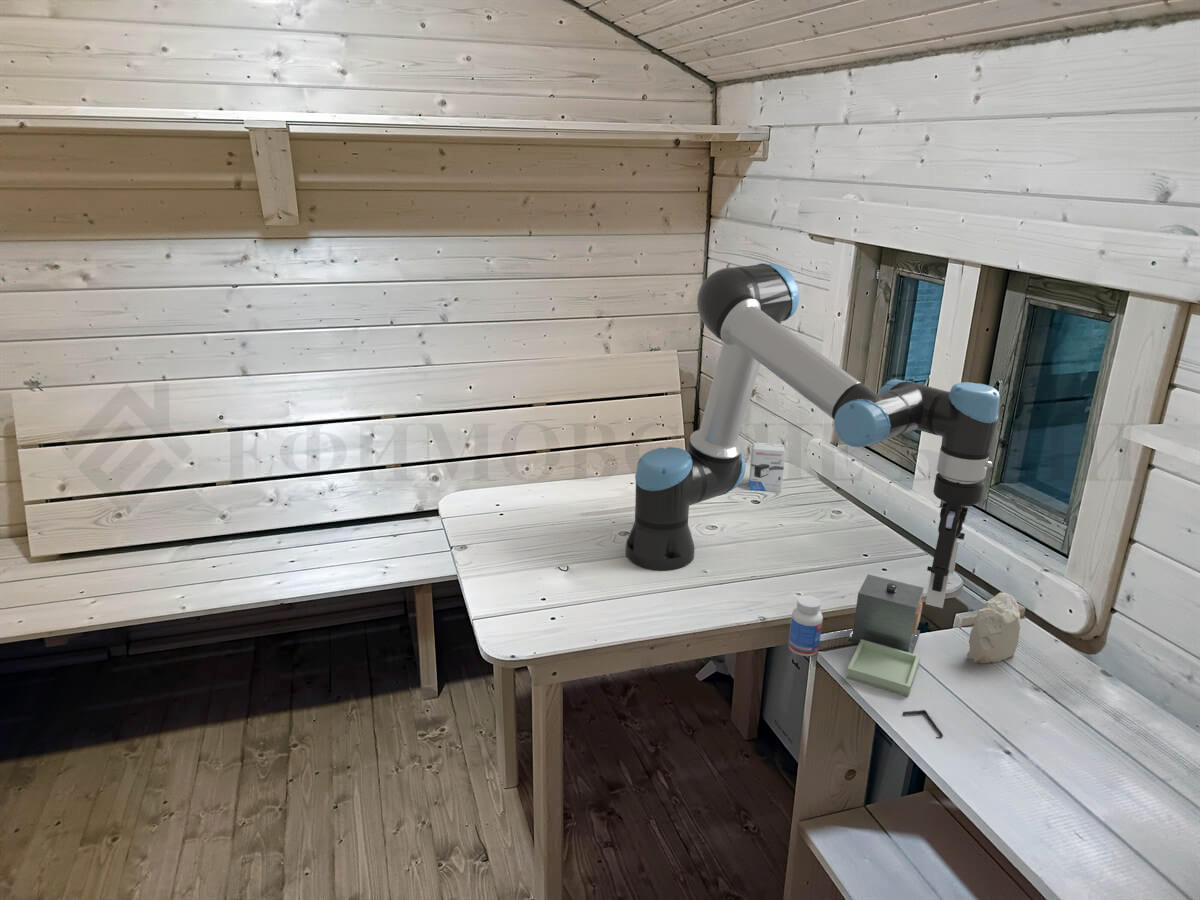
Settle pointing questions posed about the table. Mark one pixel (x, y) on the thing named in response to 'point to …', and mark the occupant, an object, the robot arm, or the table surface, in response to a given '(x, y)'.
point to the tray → (883, 667)
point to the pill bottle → (806, 626)
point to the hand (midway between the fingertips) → (940, 587)
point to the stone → (995, 630)
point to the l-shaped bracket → (926, 716)
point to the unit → (888, 613)
